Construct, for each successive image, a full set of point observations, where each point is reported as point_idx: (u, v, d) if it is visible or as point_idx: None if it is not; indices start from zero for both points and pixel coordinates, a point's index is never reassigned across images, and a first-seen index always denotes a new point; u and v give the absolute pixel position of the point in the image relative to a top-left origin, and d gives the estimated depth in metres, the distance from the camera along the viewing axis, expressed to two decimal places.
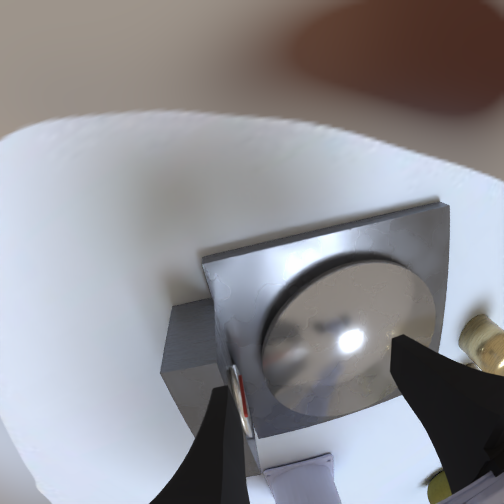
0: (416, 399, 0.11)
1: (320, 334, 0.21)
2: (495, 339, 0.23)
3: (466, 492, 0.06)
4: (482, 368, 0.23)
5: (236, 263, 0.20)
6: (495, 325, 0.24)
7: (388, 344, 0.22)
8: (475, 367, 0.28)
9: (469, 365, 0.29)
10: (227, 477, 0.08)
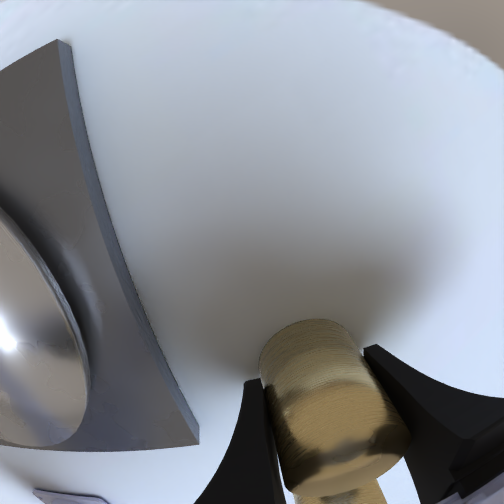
0: None
1: None
2: (309, 394, 0.09)
3: None
4: None
5: None
6: (337, 352, 0.11)
7: None
8: None
9: None
10: (272, 469, 0.08)
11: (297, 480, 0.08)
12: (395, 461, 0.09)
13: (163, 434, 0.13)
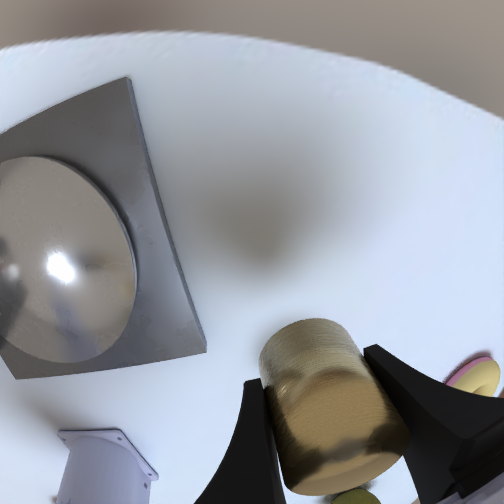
0: None
1: None
2: (309, 393, 0.09)
3: None
4: None
5: None
6: (337, 351, 0.11)
7: (63, 267, 0.17)
8: None
9: None
10: (272, 469, 0.08)
11: (297, 479, 0.08)
12: (395, 460, 0.09)
13: (181, 343, 0.21)
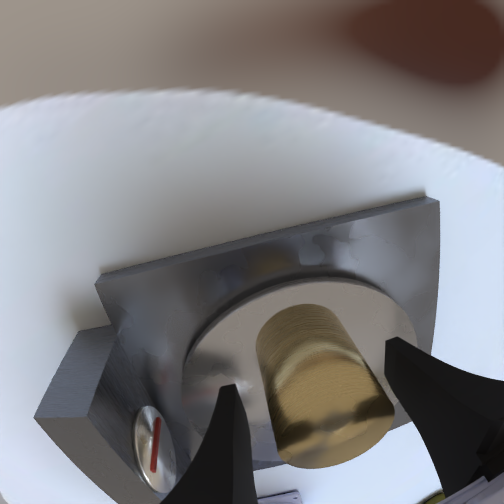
0: (409, 402, 0.11)
1: (252, 374, 0.16)
2: (297, 369, 0.11)
3: (466, 492, 0.06)
4: None
5: (134, 284, 0.14)
6: (324, 332, 0.12)
7: None
8: None
9: None
10: (237, 475, 0.08)
11: (289, 449, 0.10)
12: (382, 433, 0.10)
13: (404, 416, 0.21)
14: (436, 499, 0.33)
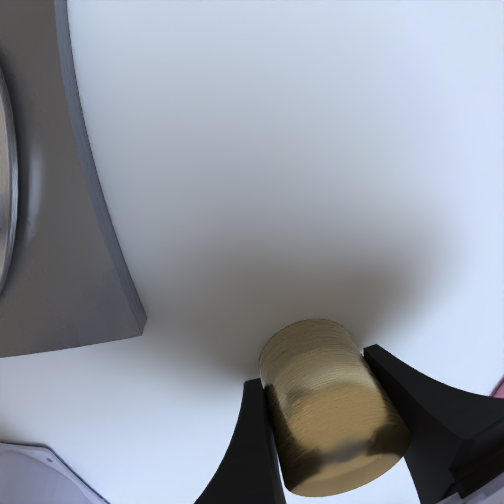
0: None
1: None
2: None
3: None
4: None
5: None
6: None
7: None
8: (330, 330, 0.12)
9: (311, 323, 0.13)
10: (272, 469, 0.08)
11: None
12: None
13: (96, 315, 0.11)
14: None
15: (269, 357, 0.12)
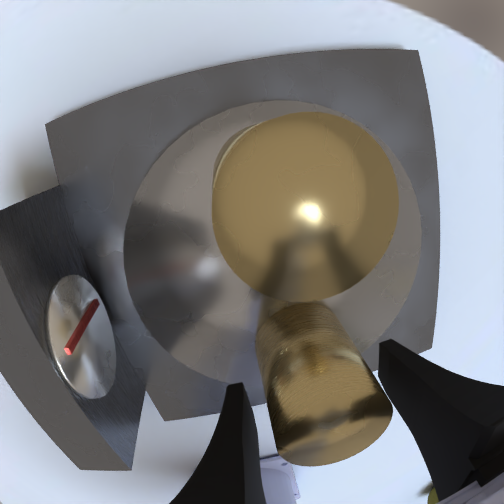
0: (403, 405, 0.11)
1: (210, 223, 0.13)
2: (248, 129, 0.08)
3: (466, 492, 0.06)
4: None
5: (84, 117, 0.12)
6: None
7: None
8: (316, 312, 0.14)
9: (298, 306, 0.14)
10: (247, 474, 0.08)
11: (234, 229, 0.07)
12: (387, 234, 0.07)
13: (415, 341, 0.18)
14: None
15: (262, 339, 0.14)
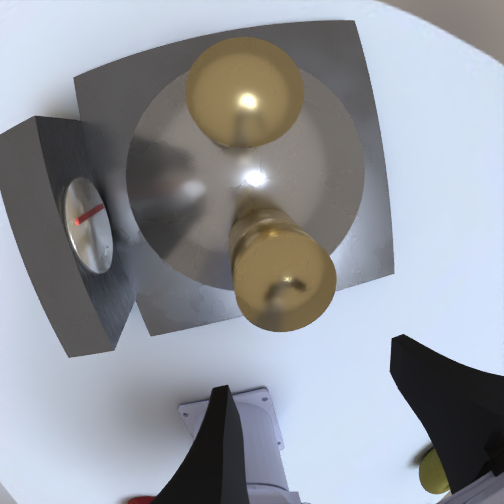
0: (416, 399, 0.11)
1: (192, 141, 0.17)
2: None
3: (466, 492, 0.06)
4: None
5: (104, 72, 0.15)
6: None
7: (295, 171, 0.18)
8: (275, 211, 0.18)
9: (261, 209, 0.18)
10: (227, 477, 0.08)
11: (197, 99, 0.11)
12: (297, 105, 0.11)
13: (376, 263, 0.22)
14: None
15: (231, 234, 0.18)
